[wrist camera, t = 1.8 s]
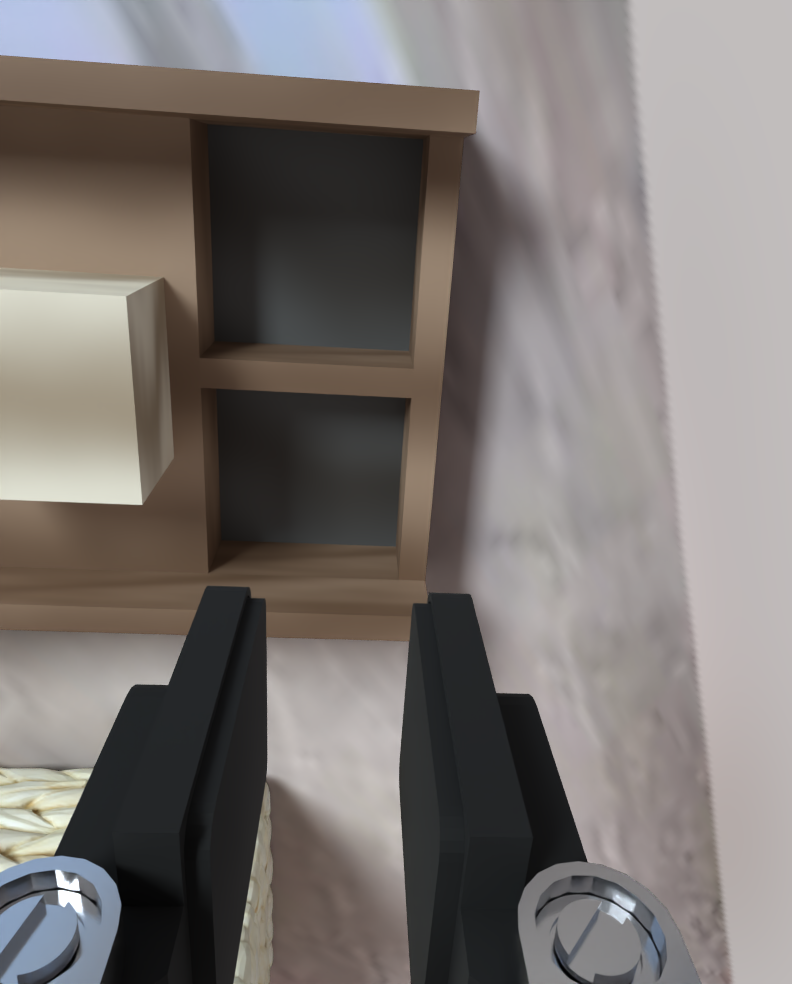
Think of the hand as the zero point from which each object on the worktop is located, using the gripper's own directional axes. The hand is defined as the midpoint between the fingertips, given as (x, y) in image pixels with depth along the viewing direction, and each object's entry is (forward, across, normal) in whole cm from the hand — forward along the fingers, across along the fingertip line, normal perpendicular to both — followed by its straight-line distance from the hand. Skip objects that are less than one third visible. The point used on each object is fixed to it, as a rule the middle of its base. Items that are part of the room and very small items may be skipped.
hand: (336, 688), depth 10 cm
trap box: (+19, +9, 0) cm, 21 cm away
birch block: (+16, +9, 0) cm, 18 cm away
